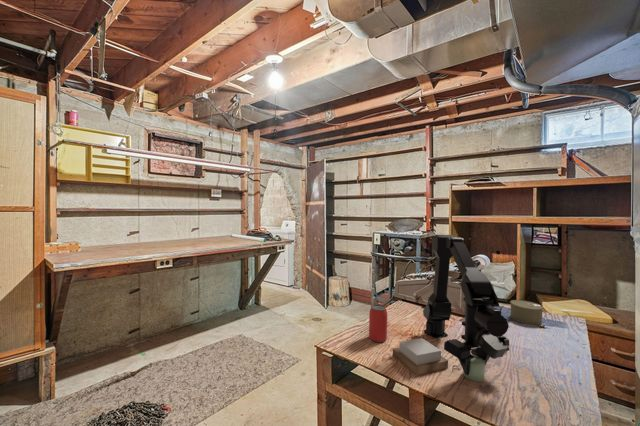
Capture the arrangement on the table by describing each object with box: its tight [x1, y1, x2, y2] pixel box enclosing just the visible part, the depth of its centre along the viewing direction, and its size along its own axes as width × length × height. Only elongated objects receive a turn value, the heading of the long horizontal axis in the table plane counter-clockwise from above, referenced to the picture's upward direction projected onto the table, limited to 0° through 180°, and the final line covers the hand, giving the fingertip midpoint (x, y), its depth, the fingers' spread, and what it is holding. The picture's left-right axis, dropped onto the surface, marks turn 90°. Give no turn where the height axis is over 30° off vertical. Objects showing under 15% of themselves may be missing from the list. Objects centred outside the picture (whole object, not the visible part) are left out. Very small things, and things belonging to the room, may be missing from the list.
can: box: [509, 299, 544, 325], centre depth 131 cm, size 12×12×7 cm
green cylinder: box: [463, 354, 486, 383], centre depth 87 cm, size 6×6×5 cm
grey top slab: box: [398, 337, 442, 365], centre depth 94 cm, size 9×9×3 cm
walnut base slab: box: [392, 347, 449, 376], centre depth 94 cm, size 12×12×3 cm
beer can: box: [368, 304, 388, 343], centre depth 109 cm, size 7×7×12 cm
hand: (473, 372), depth 87 cm, fingers closed on green cylinder, 5 cm apart
